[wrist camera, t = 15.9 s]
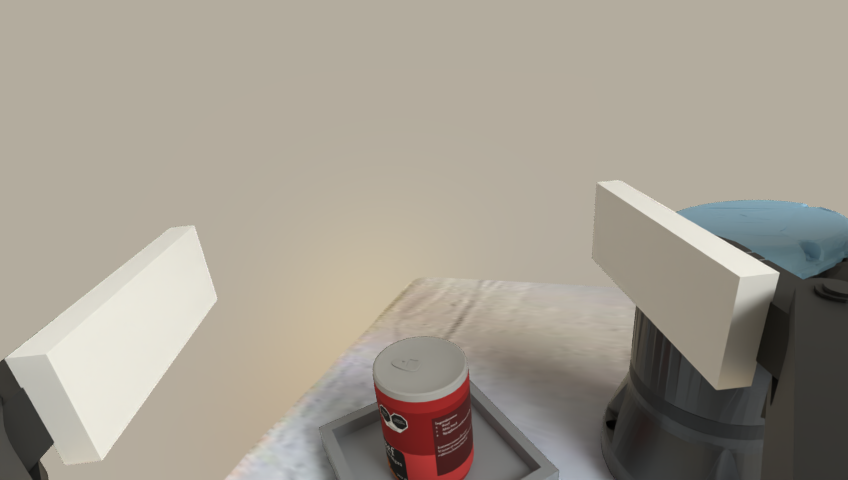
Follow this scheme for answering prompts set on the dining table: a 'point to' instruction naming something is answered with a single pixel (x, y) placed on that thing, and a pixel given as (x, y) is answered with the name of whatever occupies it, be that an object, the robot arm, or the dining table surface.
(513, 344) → the dining table surface
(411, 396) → the canned food
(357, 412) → the tray
